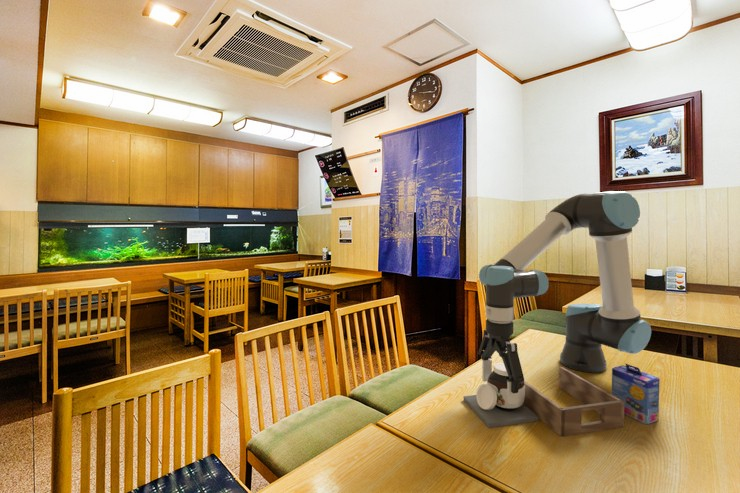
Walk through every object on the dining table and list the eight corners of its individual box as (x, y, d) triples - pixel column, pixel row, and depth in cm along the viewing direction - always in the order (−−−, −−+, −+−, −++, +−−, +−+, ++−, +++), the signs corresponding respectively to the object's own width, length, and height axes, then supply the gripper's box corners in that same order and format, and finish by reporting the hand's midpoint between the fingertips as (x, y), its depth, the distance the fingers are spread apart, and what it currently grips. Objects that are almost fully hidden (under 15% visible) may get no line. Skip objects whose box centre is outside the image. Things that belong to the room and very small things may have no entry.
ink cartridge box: (609, 407, 104) (611, 359, 103) (621, 403, 106) (623, 356, 105) (646, 425, 95) (648, 373, 94) (659, 420, 97) (661, 369, 96)
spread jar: (527, 405, 104) (528, 366, 103) (513, 422, 95) (514, 380, 94) (488, 392, 112) (488, 356, 111) (471, 407, 103) (472, 368, 102)
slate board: (463, 400, 110) (463, 396, 110) (507, 394, 112) (507, 391, 112) (488, 427, 95) (488, 423, 95) (538, 420, 98) (538, 416, 98)
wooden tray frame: (509, 393, 113) (509, 372, 113) (561, 387, 117) (562, 366, 116) (560, 436, 91) (561, 410, 90) (623, 426, 94) (624, 401, 94)
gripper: (467, 310, 113) (467, 374, 115) (512, 334, 89) (512, 415, 90) (489, 308, 115) (488, 371, 116) (539, 332, 90) (538, 412, 92)
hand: (498, 391), depth 103 cm, fingers open, 13 cm apart
